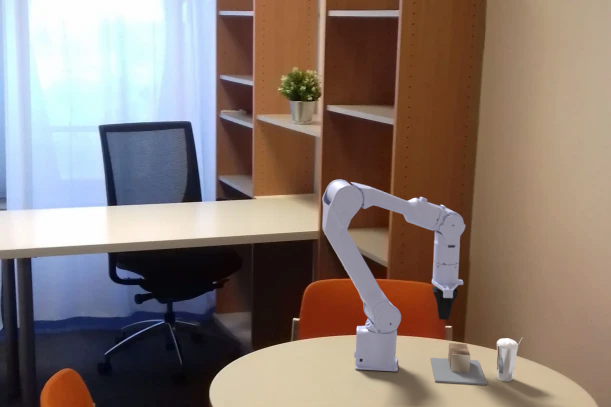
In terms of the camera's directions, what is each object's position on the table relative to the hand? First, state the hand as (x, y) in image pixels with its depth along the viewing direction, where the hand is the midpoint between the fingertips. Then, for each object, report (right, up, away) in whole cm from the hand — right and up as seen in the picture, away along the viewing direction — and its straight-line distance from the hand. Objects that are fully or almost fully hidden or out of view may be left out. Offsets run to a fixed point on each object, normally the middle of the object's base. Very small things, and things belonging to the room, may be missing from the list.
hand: (443, 318), depth 169 cm
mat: (+2, -11, -4) cm, 12 cm away
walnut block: (+3, -9, -5) cm, 11 cm away
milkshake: (+13, -12, -7) cm, 19 cm away
